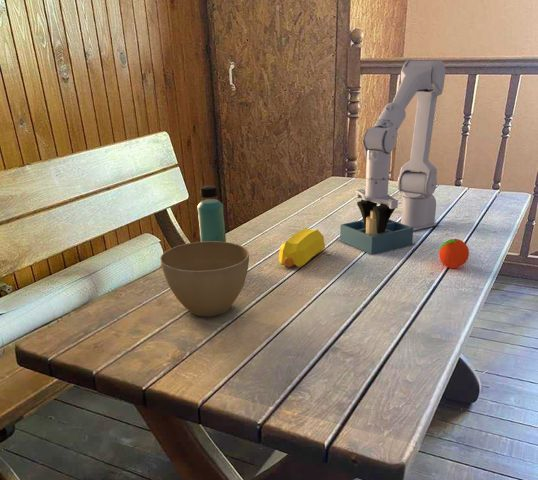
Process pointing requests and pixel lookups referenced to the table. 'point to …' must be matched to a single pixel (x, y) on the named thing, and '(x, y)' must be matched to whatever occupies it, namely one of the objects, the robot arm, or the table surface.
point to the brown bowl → (206, 275)
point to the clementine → (453, 253)
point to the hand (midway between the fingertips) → (374, 230)
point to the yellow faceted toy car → (301, 247)
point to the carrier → (376, 236)
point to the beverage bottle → (211, 216)
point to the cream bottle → (371, 224)
